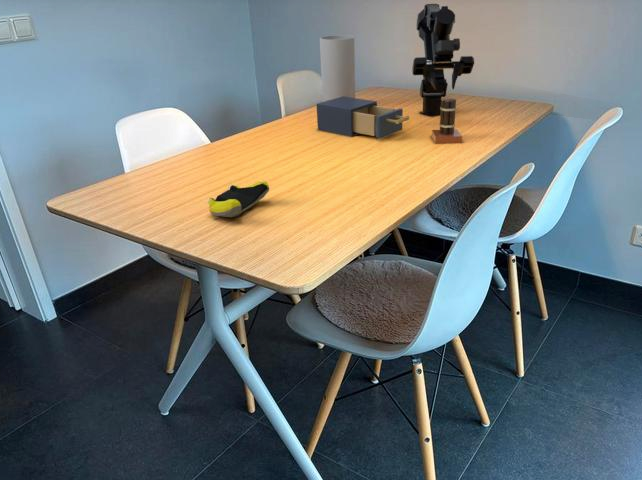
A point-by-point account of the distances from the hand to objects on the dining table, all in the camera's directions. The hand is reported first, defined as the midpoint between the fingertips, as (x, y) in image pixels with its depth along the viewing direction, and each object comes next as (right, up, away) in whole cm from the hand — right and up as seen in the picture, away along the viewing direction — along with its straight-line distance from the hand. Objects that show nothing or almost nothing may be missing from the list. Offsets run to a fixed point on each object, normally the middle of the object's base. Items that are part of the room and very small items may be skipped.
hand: (444, 89), depth 173 cm
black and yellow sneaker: (-55, -43, -46) cm, 84 cm away
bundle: (0, -14, -1) cm, 14 cm away
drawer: (-20, -12, +5) cm, 24 cm away
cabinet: (-30, -9, +13) cm, 34 cm away
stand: (0, -16, 0) cm, 16 cm away
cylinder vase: (-33, +6, +40) cm, 53 cm away
